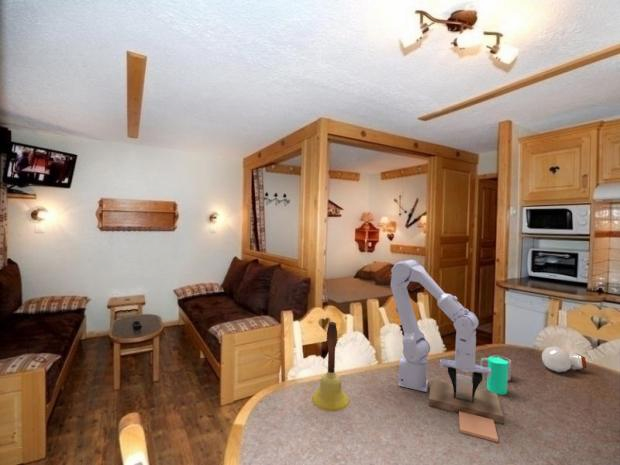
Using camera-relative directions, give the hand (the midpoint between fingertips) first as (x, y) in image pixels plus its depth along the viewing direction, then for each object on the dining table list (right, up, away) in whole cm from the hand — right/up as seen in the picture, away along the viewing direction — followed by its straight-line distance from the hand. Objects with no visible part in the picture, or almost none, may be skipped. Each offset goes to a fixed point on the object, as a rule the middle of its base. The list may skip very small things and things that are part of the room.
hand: (463, 393), depth 98 cm
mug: (+22, -3, +19) cm, 29 cm away
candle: (+16, -4, +8) cm, 18 cm away
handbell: (-43, -3, +1) cm, 43 cm away
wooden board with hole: (0, -3, 0) cm, 3 cm away
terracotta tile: (-2, -4, -12) cm, 12 cm away
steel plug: (0, -3, 0) cm, 3 cm away
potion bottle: (+51, -4, +24) cm, 57 cm away
